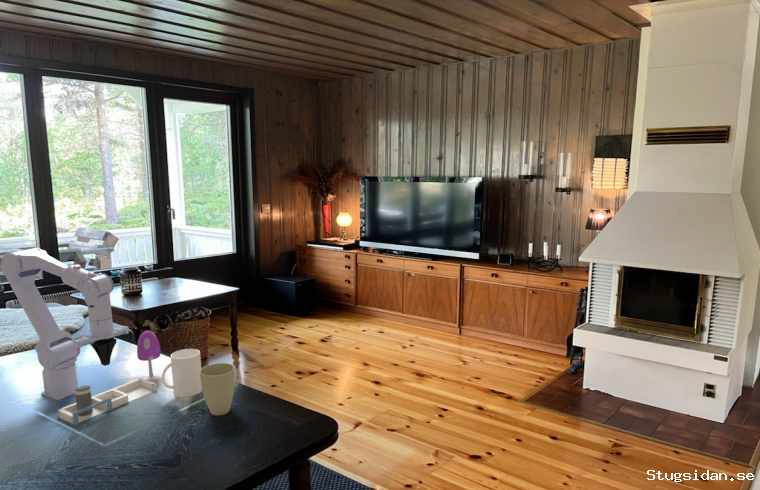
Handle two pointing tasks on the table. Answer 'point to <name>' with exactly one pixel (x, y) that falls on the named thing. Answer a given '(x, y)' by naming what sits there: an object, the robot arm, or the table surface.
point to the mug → (185, 372)
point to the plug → (83, 399)
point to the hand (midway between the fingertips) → (105, 364)
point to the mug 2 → (218, 386)
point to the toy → (148, 348)
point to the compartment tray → (108, 400)
